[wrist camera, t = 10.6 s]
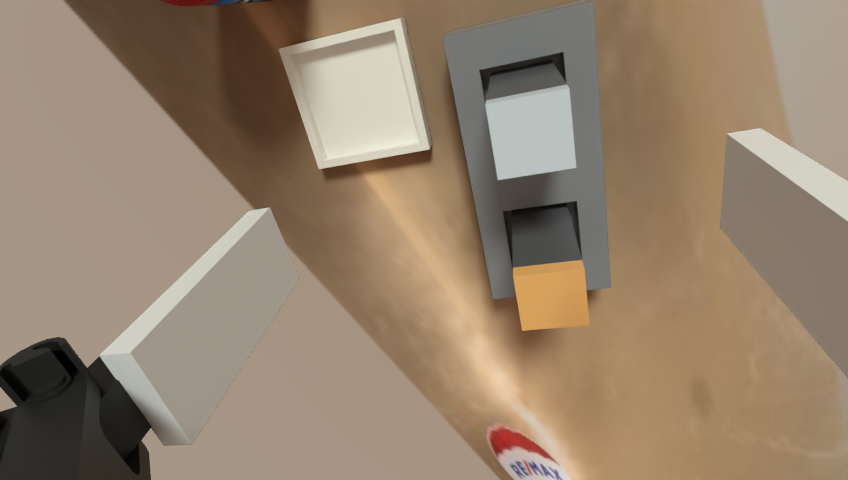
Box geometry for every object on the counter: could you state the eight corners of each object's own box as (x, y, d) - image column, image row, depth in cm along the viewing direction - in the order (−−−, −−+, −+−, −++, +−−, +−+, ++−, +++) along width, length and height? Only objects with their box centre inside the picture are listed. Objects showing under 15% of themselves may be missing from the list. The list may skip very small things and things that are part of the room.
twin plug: (491, 72, 32) (485, 104, 23) (551, 60, 31) (569, 88, 22) (500, 130, 34) (497, 180, 25) (557, 119, 33) (576, 167, 24)
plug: (511, 207, 36) (513, 276, 28) (565, 199, 35) (584, 268, 27) (518, 252, 38) (522, 330, 29) (570, 245, 37) (589, 325, 28)
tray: (286, 46, 35) (278, 48, 34) (404, 17, 33) (400, 18, 32) (325, 163, 39) (318, 169, 38) (432, 143, 37) (429, 149, 36)
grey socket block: (449, 31, 33) (442, 36, 30) (583, -1, 31) (593, 1, 27) (494, 273, 42) (493, 299, 38) (601, 261, 39) (611, 287, 36)
